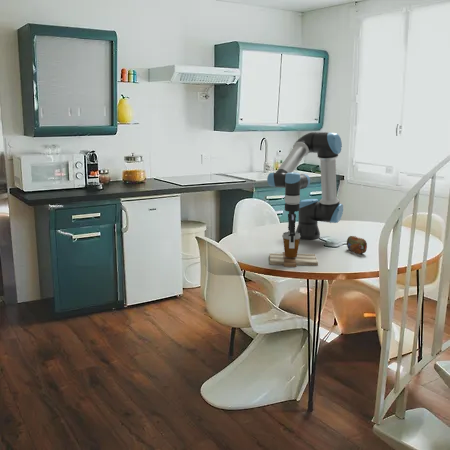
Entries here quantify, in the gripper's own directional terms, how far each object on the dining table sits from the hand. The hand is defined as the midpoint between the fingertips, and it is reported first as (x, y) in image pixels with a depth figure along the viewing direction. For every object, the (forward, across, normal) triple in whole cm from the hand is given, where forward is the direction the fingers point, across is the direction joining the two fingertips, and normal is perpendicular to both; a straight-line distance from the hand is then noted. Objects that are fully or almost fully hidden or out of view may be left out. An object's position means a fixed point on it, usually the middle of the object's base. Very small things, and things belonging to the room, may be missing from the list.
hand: (291, 245), depth 281 cm
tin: (+8, -19, +37) cm, 43 cm away
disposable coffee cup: (+6, 0, 0) cm, 6 cm away
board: (+8, 0, +1) cm, 8 cm away
